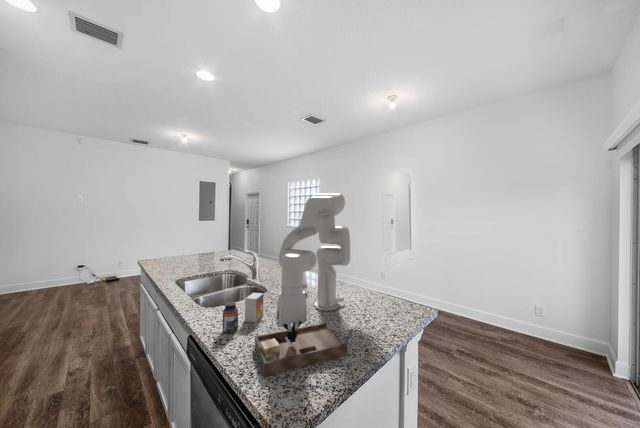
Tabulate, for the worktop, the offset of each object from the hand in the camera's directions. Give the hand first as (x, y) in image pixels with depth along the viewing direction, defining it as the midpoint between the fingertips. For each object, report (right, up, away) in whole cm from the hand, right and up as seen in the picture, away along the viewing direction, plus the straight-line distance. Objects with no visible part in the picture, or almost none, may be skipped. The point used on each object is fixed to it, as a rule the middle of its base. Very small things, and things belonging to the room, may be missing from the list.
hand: (291, 340), depth 87 cm
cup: (-4, -3, +61) cm, 62 cm away
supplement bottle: (-27, -4, +15) cm, 31 cm away
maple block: (-7, -2, -4) cm, 8 cm away
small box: (-20, -4, +27) cm, 34 cm away
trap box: (+3, -4, +1) cm, 5 cm away
